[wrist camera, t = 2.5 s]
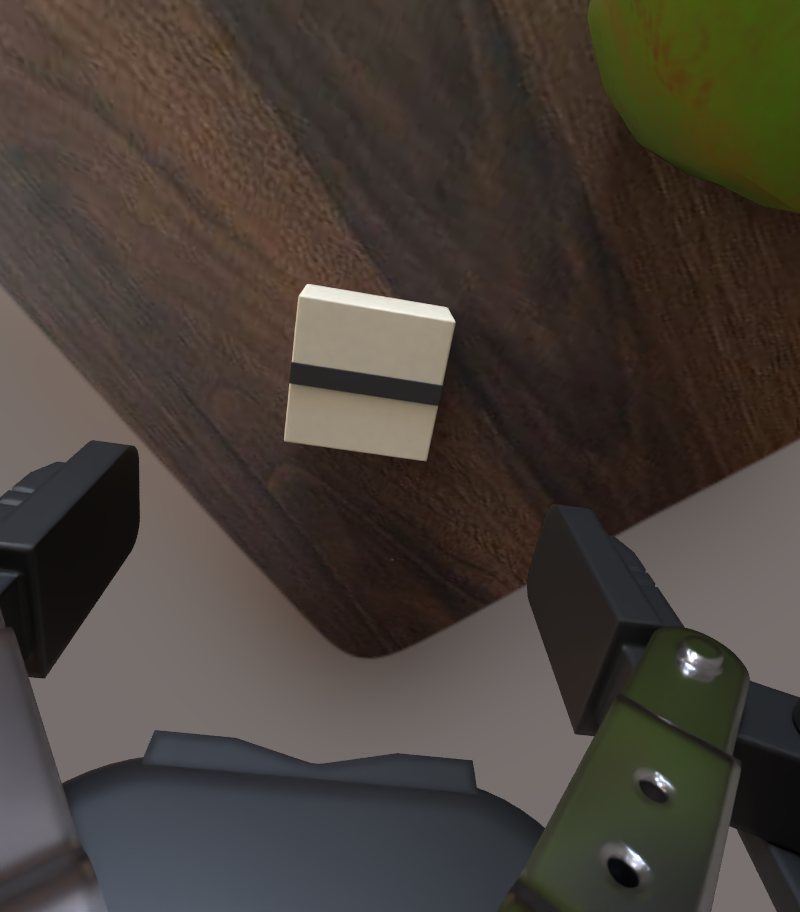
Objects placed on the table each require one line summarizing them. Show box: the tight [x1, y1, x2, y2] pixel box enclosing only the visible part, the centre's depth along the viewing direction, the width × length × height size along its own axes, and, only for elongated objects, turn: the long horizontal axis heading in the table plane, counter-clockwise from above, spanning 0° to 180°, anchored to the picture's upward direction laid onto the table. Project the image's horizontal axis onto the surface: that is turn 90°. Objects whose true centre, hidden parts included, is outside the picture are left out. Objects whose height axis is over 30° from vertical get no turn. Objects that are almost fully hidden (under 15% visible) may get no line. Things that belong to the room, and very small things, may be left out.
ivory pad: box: [284, 284, 455, 461], centre depth 23 cm, size 6×6×3 cm
